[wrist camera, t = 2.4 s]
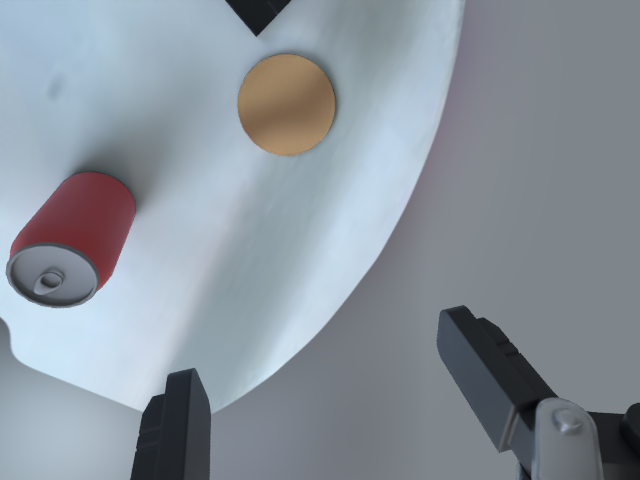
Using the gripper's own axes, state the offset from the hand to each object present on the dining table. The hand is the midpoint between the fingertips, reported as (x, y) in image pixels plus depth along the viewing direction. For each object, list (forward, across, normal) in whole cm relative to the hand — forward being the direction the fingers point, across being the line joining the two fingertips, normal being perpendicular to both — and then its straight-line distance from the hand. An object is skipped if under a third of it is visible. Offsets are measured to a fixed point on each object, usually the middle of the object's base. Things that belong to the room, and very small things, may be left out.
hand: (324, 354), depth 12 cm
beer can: (+28, +16, +5) cm, 33 cm away
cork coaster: (+28, -3, -1) cm, 28 cm away
